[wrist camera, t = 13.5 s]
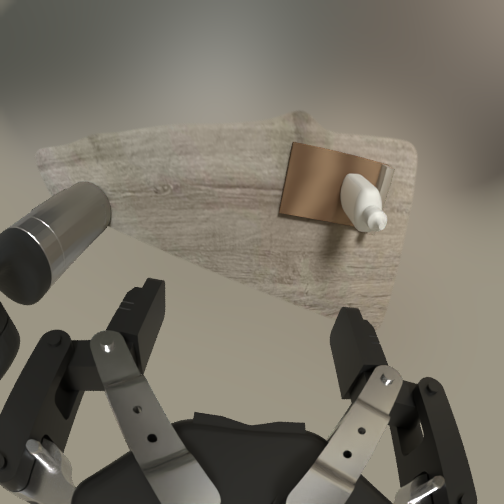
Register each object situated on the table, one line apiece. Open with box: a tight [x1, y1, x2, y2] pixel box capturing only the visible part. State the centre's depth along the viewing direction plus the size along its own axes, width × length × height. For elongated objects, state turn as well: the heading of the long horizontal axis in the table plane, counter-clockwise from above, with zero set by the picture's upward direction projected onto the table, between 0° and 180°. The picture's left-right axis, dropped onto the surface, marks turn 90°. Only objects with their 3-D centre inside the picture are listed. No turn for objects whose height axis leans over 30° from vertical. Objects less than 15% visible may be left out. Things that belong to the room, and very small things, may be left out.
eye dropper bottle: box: [340, 174, 387, 232], centre depth 35 cm, size 4×6×12 cm
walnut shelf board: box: [279, 142, 395, 235], centre depth 39 cm, size 14×10×3 cm
